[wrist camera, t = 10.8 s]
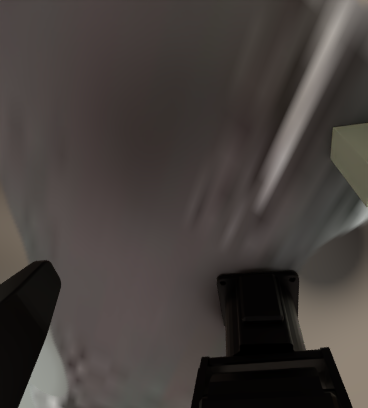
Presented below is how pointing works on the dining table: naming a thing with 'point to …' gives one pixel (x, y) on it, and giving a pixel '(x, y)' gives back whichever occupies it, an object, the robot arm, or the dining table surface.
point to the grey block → (352, 156)
